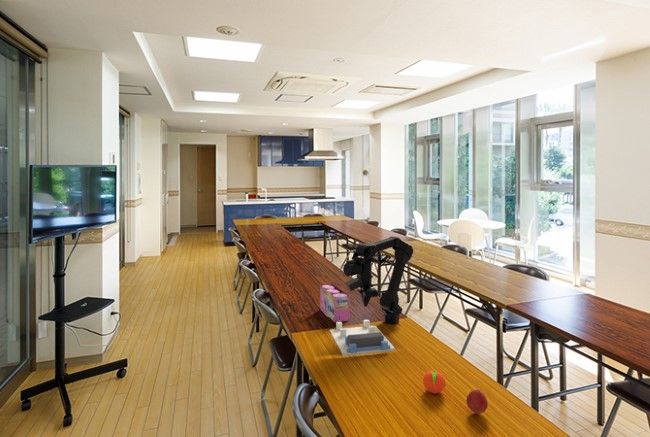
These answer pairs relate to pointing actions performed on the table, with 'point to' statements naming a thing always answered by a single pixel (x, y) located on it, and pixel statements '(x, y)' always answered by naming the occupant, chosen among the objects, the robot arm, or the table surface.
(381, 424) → the table surface
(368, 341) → the long grey block
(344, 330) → the board
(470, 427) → the table surface
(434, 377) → the clementine
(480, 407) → the onion
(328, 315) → the pink drink multipack
